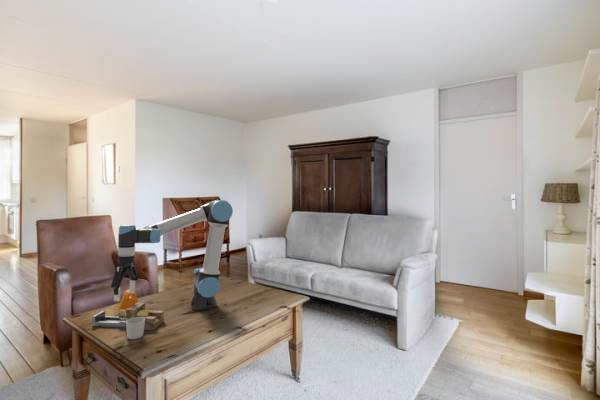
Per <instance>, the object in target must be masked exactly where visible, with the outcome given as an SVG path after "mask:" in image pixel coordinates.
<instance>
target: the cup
mask: <svg viewBox="0 0 600 400" xmlns="http://www.w3.org/2000/svg"><path fill="white" fill-rule="evenodd" d="M144 324H145V318H142V317H135V318H131V319H128V320H127V321H126V328H125V330H126V337H127V339H129V340H139V339H140V338H142V337H143V336H144V331H145V330H144Z"/></svg>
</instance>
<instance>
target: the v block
mask: <svg viewBox="0 0 600 400" xmlns="http://www.w3.org/2000/svg"><path fill="white" fill-rule="evenodd" d="M91 319H92V320H91V321H92V322H91V323H92V326H91V327H95V326H101V327H102V328H103V327H104V328H122V329H123V328H125V329H126V319H119V317H118V316H114V315H113V316H111V315H106V310H101V311H99V312H98V313H96V314H94V315H93V316H92V318H91ZM101 327H100V328H101Z"/></svg>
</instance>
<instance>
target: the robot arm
mask: <svg viewBox="0 0 600 400" xmlns="http://www.w3.org/2000/svg"><path fill="white" fill-rule="evenodd" d="M233 213H234V210H233V207H232V205H231V203H230V202H228V201H227V200H224V199H215V200H212V201H210V202H208V203H206V204H203V205H200V207H198V208H196V209H194V210H191V211H188V212H186V213H185V212H184V213H182V214H179V215H177V216H174V217H171V218H168V219H165V220H162V221H159V222H157V223H153V224H152V225H146V226H144V227H143V228H137V227H136V225H135V224H121V225H120V226H119V227H118V235H117V236H118V239H117V241H118V243H117V255H118V256H117V263H118V264H119V266H116V267H115V271H114V275H113V278H112V281H111V286H110V288H111V289H113V302H121V287H120V286H121V284H122V282H123V279H124V277H125V276H126V275H128V277H129V279H130V280H129V287H128V288H129V289H128V290H129V293H135V292H136V281H138V280H139V279H138V278H139V274H138V270H137V266H136V262H135V253H136V252H135V251H136V244H159V243H161V237H162V236H165V235H167V234H170V233H173V232H176V231H179V230H181V229H184V228H187V227H189V226H192V225H194V224H197V223H201V222H203V221H205V222H207V223H208V225H209V230H208V236H207V242H206V247H205V252H204V259H203V264H202V267H200V268H199V267H198V268H195V269H194V270H193V271H194V272H193V295H192V297H191V301H190V303H189V307H190V309H191V310H193V311H199V310H202V311H208V310H207V309H209V310H212V309H211V308H213V309H214V307H215V306H216V307H217V303H218V301H217V299H216V295H217V294H218V293H219V291H220V288H221V283H220V279H221V278H220V277H221V271H220V270H219V266H220V260H221V257H222V256H221V255H222V250H223V244H224V239H225V238H224V237H225V233H226V228H227V227H228V226H229V224H230V219H231V218H232V216H233ZM216 307H215V308H216Z"/></svg>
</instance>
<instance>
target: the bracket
mask: <svg viewBox="0 0 600 400" xmlns="http://www.w3.org/2000/svg"><path fill="white" fill-rule="evenodd" d="M138 302H139V299H138V293H137V292H136V291H135V293H129V289H127V290H125V291H124V292H123V294H122V297H121V299H120V301H119V305H118V307H117V312H118V313H119V312H120V310H126V309H128V308H130V307H131V306H133V305H134V304H136V303H138Z"/></svg>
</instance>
